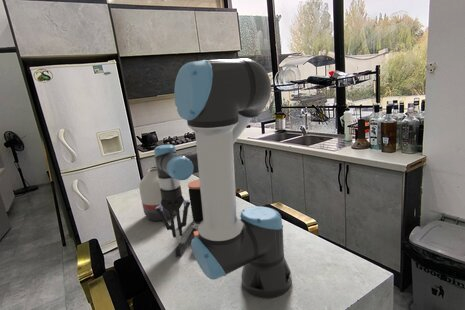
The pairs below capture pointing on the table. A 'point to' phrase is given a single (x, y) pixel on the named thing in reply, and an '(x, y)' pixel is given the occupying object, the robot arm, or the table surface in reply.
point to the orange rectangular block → (196, 234)
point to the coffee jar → (195, 200)
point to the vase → (152, 196)
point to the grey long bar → (186, 239)
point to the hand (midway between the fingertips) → (178, 243)
